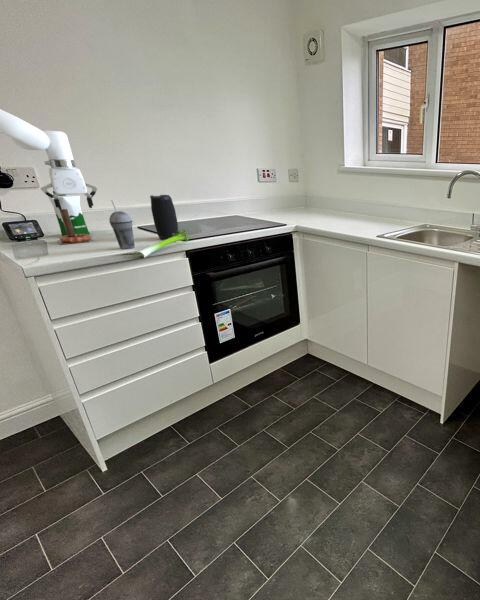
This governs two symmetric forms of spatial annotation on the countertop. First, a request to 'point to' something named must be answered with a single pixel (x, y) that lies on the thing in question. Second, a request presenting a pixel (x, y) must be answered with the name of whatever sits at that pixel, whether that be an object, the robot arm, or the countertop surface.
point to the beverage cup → (122, 229)
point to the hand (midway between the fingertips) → (75, 208)
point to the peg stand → (68, 227)
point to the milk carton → (70, 213)
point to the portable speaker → (164, 216)
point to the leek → (164, 243)
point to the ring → (75, 238)
